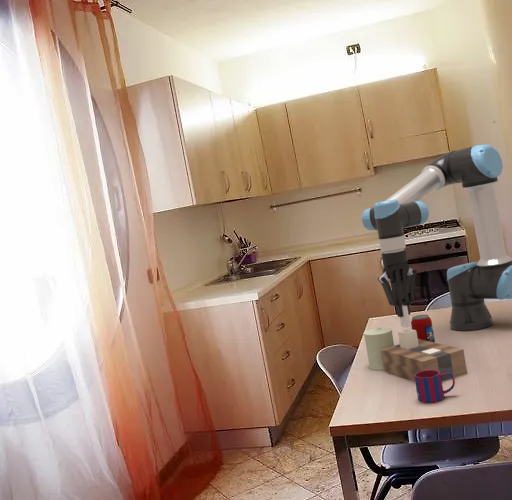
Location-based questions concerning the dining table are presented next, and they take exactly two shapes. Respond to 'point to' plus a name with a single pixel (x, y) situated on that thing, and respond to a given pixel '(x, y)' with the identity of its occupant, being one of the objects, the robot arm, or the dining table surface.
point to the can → (377, 345)
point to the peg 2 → (431, 351)
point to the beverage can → (423, 327)
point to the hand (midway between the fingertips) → (405, 326)
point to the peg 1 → (408, 339)
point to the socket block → (423, 360)
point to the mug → (431, 385)
